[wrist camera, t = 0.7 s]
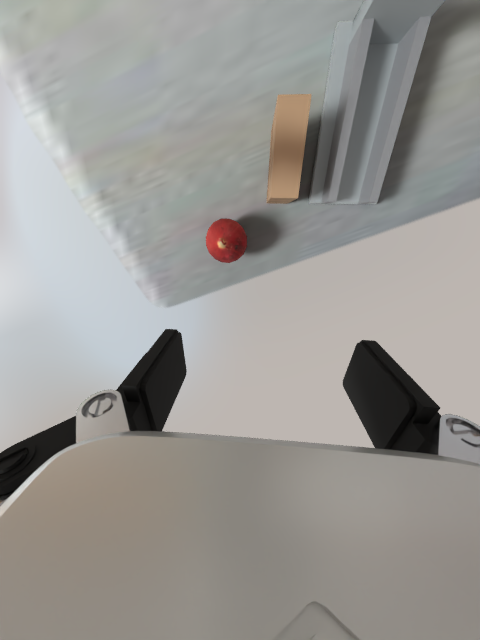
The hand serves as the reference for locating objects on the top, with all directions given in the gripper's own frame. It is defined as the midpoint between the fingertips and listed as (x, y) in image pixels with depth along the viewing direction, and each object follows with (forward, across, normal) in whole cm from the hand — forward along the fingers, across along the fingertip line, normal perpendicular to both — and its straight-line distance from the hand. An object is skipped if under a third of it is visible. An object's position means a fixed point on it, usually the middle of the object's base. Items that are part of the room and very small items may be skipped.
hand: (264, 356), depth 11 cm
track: (+25, -11, -17) cm, 32 cm away
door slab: (+25, -2, -12) cm, 28 cm away
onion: (+25, +5, -3) cm, 26 cm away
